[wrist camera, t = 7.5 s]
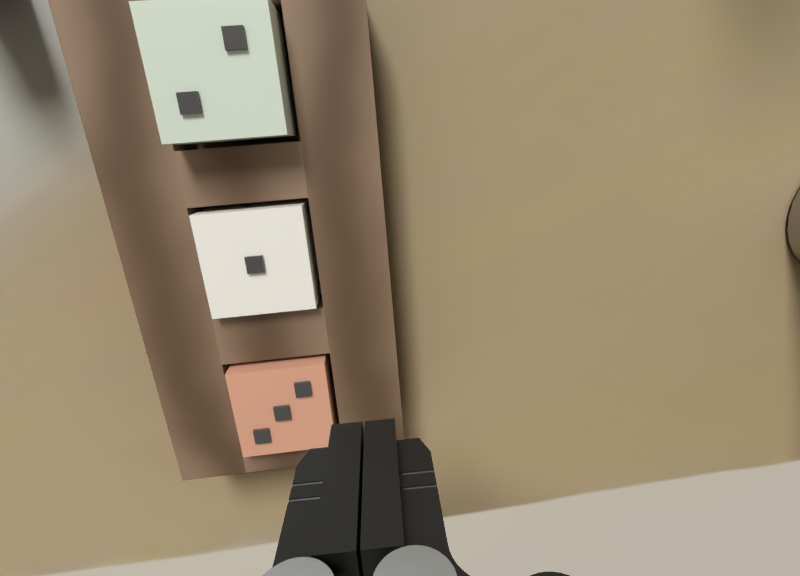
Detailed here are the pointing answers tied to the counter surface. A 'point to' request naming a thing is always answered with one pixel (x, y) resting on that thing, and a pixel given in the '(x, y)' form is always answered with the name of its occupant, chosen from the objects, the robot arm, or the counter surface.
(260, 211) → the one dot button
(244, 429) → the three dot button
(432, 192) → the counter surface
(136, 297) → the console
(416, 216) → the counter surface
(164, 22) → the two dot button
